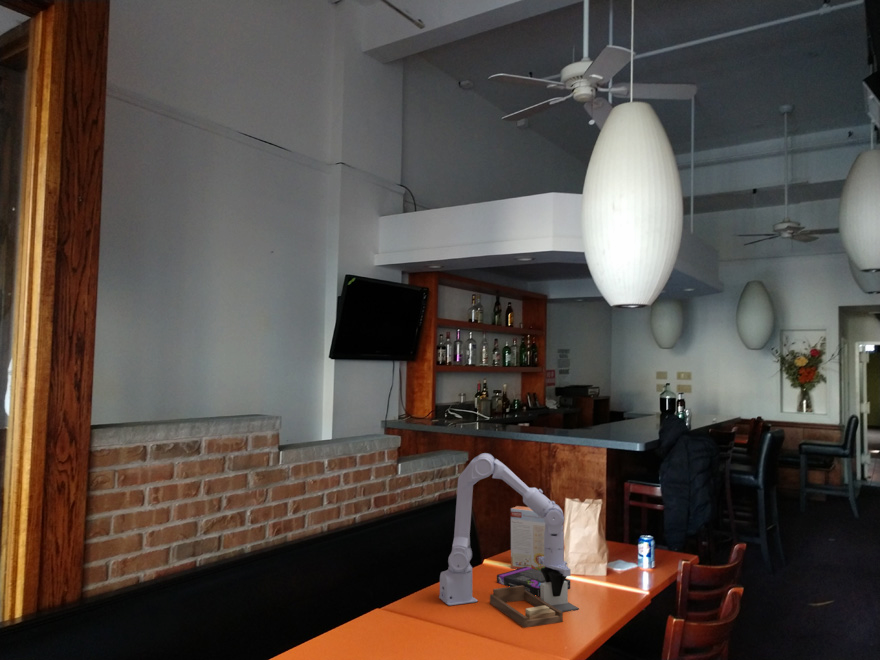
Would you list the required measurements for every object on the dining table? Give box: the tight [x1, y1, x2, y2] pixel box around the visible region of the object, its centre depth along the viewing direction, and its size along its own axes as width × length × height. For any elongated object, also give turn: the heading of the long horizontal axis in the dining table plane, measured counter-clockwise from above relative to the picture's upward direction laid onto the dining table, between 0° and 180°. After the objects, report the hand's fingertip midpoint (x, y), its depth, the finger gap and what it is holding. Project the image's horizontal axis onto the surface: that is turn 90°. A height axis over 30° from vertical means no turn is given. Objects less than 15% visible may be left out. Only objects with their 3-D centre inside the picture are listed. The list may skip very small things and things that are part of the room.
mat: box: [539, 597, 580, 613], centre depth 197 cm, size 9×12×1 cm
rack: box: [489, 585, 564, 628], centre depth 191 cm, size 12×20×4 cm, turn 22°
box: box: [496, 567, 571, 598], centre depth 215 cm, size 14×4×20 cm
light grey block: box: [540, 581, 569, 605], centre depth 197 cm, size 8×2×6 cm, turn 112°
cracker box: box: [510, 505, 545, 571], centre depth 233 cm, size 14×6×21 cm, turn 58°
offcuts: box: [524, 605, 555, 620], centre depth 183 cm, size 9×3×4 cm, turn 112°
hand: (554, 594), depth 197 cm, fingers closed on light grey block, 2 cm apart
